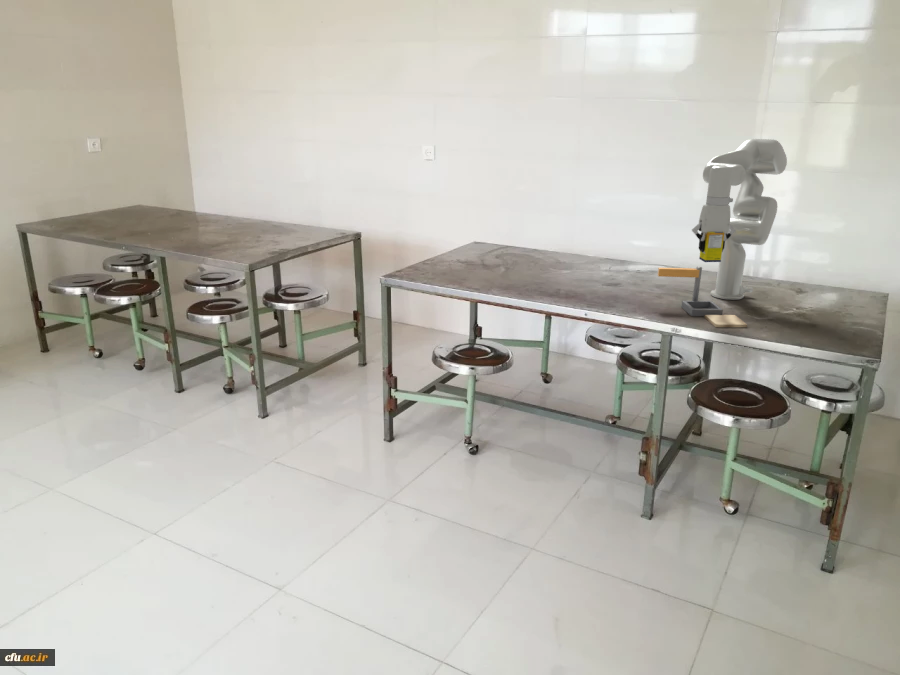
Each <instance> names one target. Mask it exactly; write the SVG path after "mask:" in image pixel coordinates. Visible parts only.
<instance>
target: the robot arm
mask: <svg viewBox="0 0 900 675" xmlns="http://www.w3.org/2000/svg"><path fill="white" fill-rule="evenodd" d="M787 159H788V157H787V154H786V152H785V150H784V147H783V145H782V143H781V142H780V141H778V140H777V139H772V138H771V139H769V138H768V139H765V138H751V139H747V140H745V141H744V142H742V143H741V144H740V145H739V147H738V148H736V149H735V150H733V151H730V152H728V153H727V152H726V153H722V154H720V155H717V156H715V157H713V158H712V159H711V160H709V162H708V163H707V164H706V165H705V167H704V169H703V172H702V179H703V181H704V183H707V184H708V186H707V194H706V200H705V201H706V202H705V204H703V205H702V207H701V211H700V215H699V218H698V219H699V220H698V224H696V225H695V226H694V227H693V228H692V229H691V232H692V233H693V234H694V235H695V237H696V238H697V239H698V240H699V242H698V250H699V252H700V251H701V252H704V249H705V241H704V240H705V237H706V234H707V233H708V232H724V240H723V248H722V256H721V262H718V268H717V273H716V274H717V275H716V281H715V289H712V290H711V291H710V296H712V297H714V298H716V299H721V300H727V301H731V300H733V301H735V300H742V299H744V297H745V293H753V292H754V288H753V287H747V286H743V285H742V283H743V276H744V269H745V265H746V264H745V262H746V256H747V254H746V250H745V248H744V246H743V245H742V244H744V245H750V246H751V245H753V246H762V245H764V244H766V242H767V241H768V238H769V236H770V233H771V231H772V227H773V224H774V222H775V219H776V215H777V212H778V202H777V199H775V198H773V197H771V196H766V195H765V196H763V195H762V194H763V192H764V189H765V188H764V184H763V182H762V181H761V179H760V178H759V176H757V174H762V175H780V174H782V173H783V172H784V171H786V168H787V166H788V165H787V164H788V160H787ZM739 185H740V188H739V191H738V193H737V196H736V199H735V201H734V198H732V197H730V195H731V189H732V187H734V186H735V187H736V186H739ZM733 202H734V204H733V208H732V214H733V216H734V217H731V206H730V203H733ZM699 232H701V233H699Z"/></svg>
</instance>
